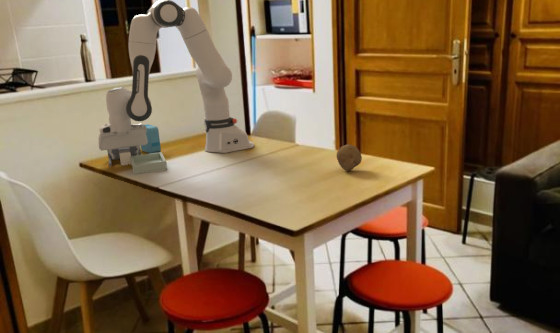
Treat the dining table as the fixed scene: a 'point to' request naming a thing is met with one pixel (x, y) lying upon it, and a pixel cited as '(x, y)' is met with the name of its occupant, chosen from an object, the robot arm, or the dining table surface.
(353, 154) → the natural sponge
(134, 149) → the bay
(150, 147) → the data package
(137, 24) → the robot arm
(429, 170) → the dining table surface
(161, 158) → the tray
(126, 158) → the tall grey rectangular block
